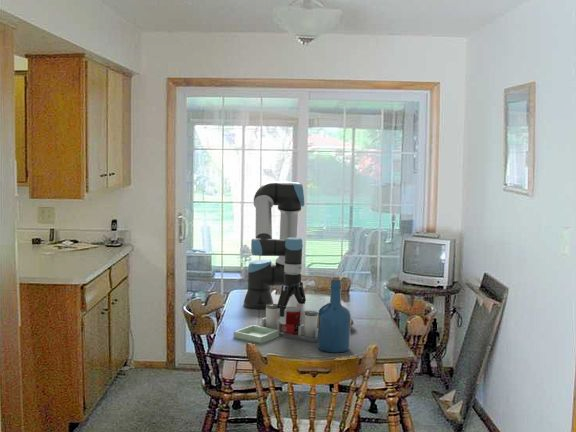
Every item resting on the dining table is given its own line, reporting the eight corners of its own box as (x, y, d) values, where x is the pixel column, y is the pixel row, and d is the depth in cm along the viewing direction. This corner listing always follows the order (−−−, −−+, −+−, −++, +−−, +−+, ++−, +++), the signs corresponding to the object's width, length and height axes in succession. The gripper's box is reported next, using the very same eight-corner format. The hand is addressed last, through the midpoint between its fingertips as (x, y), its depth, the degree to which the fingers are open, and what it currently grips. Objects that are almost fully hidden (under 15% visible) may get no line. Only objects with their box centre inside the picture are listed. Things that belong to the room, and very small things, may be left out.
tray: (233, 338, 292) (233, 331, 292) (252, 331, 304) (252, 324, 304) (260, 344, 285) (260, 337, 285) (278, 336, 297) (279, 330, 297)
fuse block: (253, 330, 306) (253, 320, 305) (269, 324, 317) (269, 314, 316) (313, 342, 289) (314, 332, 289) (329, 336, 300) (329, 326, 300)
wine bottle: (347, 344, 289) (350, 273, 285) (351, 354, 275) (354, 280, 272) (315, 343, 288) (317, 273, 285) (317, 353, 275) (320, 279, 272)
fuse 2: (301, 337, 297) (302, 312, 296) (308, 334, 302) (308, 309, 300) (312, 339, 294) (313, 314, 293) (319, 336, 299) (320, 312, 298)
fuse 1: (263, 329, 307) (263, 305, 306) (270, 326, 312) (270, 303, 311) (273, 331, 304) (274, 307, 303) (280, 328, 309) (281, 304, 308)
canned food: (298, 336, 299) (298, 311, 297) (280, 334, 300) (280, 309, 299) (301, 331, 306) (302, 307, 305) (283, 330, 308) (284, 306, 306)
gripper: (284, 278, 288) (283, 327, 290) (314, 270, 309) (312, 316, 311) (269, 275, 292) (268, 325, 294) (300, 268, 313) (298, 314, 315)
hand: (291, 320), depth 302 cm, fingers open, 13 cm apart
